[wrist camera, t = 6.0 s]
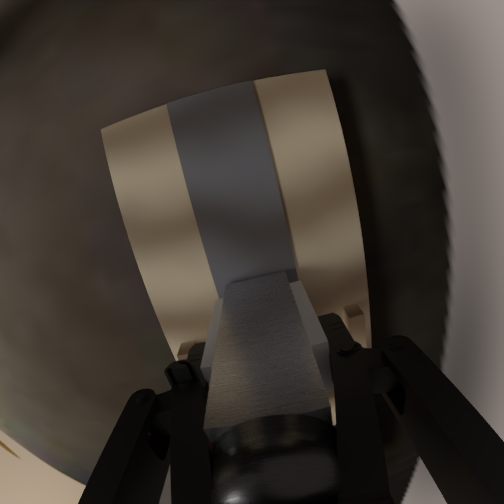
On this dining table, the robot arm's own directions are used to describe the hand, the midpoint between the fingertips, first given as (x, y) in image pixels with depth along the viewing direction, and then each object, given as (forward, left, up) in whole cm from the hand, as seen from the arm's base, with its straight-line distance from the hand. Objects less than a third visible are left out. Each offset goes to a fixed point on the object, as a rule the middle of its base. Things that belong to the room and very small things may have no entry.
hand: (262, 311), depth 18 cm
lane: (+6, 0, -3) cm, 6 cm away
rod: (+4, 0, -1) cm, 4 cm away
